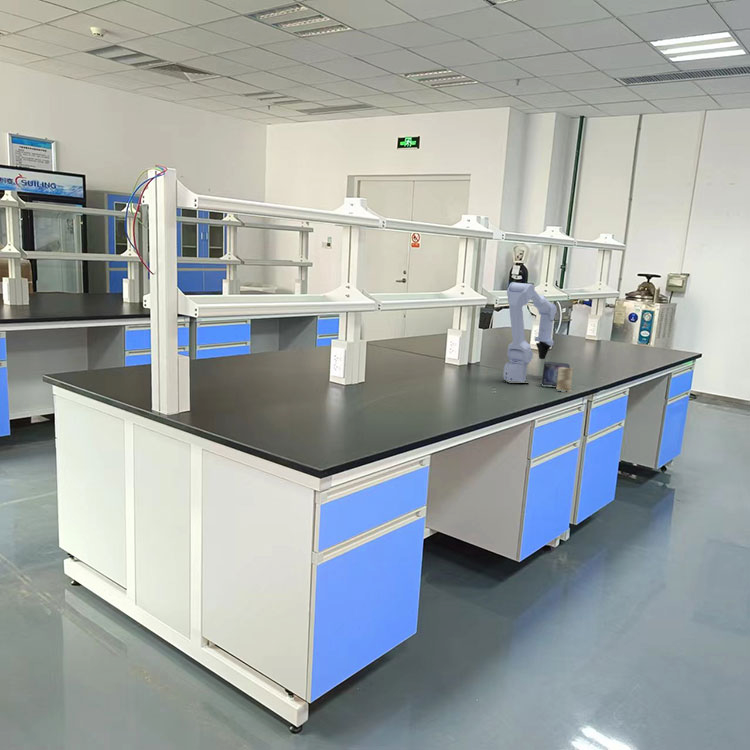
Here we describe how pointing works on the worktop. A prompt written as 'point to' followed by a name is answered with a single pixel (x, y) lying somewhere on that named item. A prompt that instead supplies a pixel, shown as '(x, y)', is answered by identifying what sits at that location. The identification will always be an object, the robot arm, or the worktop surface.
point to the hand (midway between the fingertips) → (541, 358)
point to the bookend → (564, 379)
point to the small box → (552, 372)
